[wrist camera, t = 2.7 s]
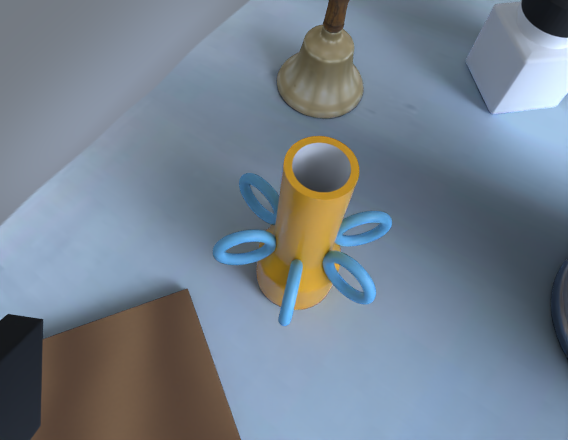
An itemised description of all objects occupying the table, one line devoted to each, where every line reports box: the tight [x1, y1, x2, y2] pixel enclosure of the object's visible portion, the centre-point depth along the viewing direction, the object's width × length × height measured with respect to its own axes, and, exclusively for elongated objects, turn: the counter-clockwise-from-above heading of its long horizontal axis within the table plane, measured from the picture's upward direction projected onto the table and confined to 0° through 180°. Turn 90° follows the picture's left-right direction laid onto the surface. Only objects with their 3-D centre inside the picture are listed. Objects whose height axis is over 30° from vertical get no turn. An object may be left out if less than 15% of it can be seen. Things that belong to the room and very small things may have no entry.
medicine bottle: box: [466, 0, 568, 114], centre depth 47 cm, size 7×7×12 cm
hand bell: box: [277, 0, 363, 118], centre depth 43 cm, size 8×8×16 cm
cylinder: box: [213, 136, 392, 326], centre depth 34 cm, size 12×10×15 cm
